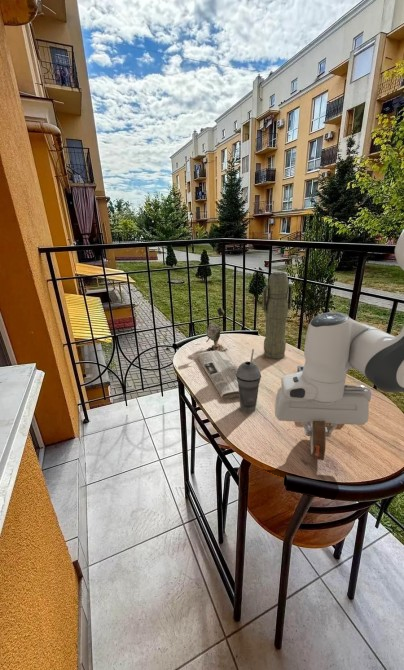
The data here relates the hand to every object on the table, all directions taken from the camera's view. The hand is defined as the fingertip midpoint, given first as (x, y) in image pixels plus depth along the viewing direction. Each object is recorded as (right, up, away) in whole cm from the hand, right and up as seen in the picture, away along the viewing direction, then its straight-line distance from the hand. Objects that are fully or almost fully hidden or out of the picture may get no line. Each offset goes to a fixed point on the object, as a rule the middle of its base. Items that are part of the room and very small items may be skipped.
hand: (316, 434), depth 68 cm
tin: (0, -3, +1) cm, 3 cm away
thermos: (+3, +15, +53) cm, 55 cm away
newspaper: (-20, +9, +39) cm, 45 cm away
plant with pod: (-22, +17, +62) cm, 68 cm away
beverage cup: (-14, +1, +18) cm, 23 cm away
